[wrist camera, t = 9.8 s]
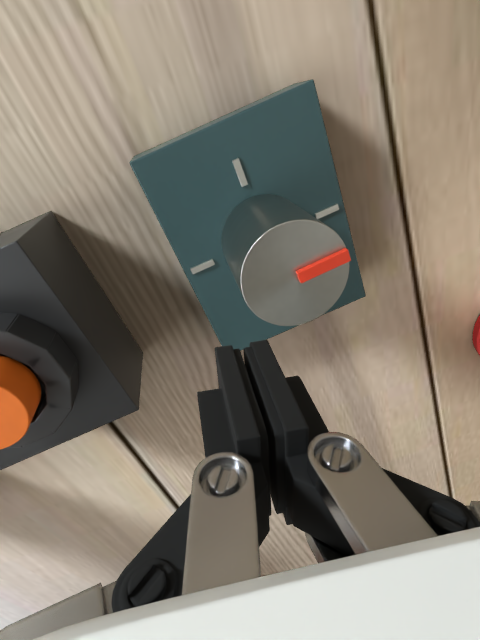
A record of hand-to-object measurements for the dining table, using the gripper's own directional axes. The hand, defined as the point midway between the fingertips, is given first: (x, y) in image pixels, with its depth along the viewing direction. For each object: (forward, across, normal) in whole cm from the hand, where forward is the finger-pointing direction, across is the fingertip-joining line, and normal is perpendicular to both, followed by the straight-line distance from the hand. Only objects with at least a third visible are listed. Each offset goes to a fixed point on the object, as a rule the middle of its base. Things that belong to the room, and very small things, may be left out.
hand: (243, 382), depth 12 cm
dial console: (+14, -4, -1) cm, 15 cm away
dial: (+11, -4, -1) cm, 12 cm away
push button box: (+14, +11, +3) cm, 18 cm away
